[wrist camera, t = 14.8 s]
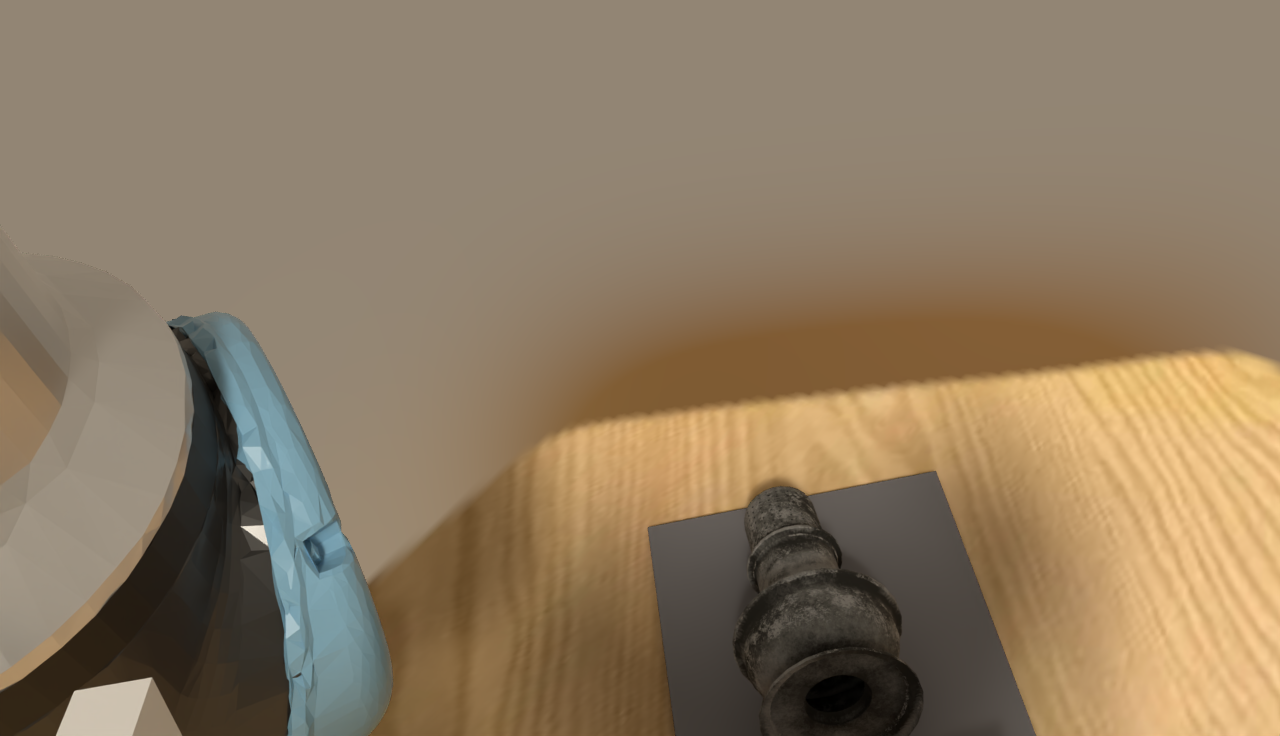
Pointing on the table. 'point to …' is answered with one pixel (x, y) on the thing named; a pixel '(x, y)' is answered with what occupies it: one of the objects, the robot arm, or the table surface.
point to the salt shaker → (819, 632)
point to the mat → (870, 544)
